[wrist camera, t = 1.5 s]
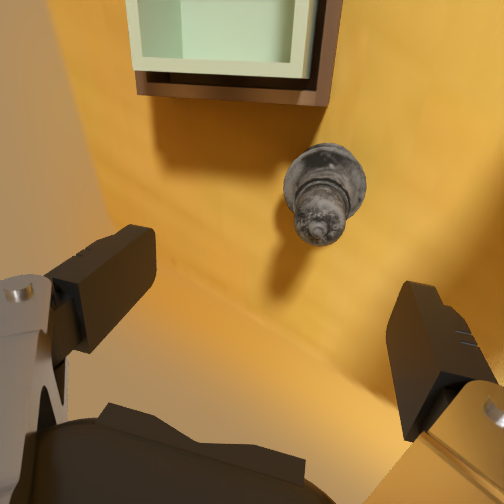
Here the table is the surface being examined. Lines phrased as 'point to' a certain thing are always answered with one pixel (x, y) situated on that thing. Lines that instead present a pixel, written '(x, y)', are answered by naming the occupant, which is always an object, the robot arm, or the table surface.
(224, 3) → the green crate
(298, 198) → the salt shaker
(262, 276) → the table surface
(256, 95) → the box
